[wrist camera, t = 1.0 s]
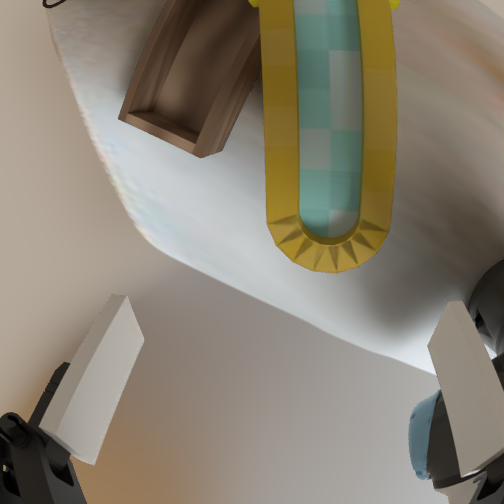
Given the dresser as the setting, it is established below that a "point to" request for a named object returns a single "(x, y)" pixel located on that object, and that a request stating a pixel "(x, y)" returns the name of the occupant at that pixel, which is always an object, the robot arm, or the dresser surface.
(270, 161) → the book
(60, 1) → the coffee mug
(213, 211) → the dresser surface
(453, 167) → the dresser surface
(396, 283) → the dresser surface
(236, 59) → the narrow box
